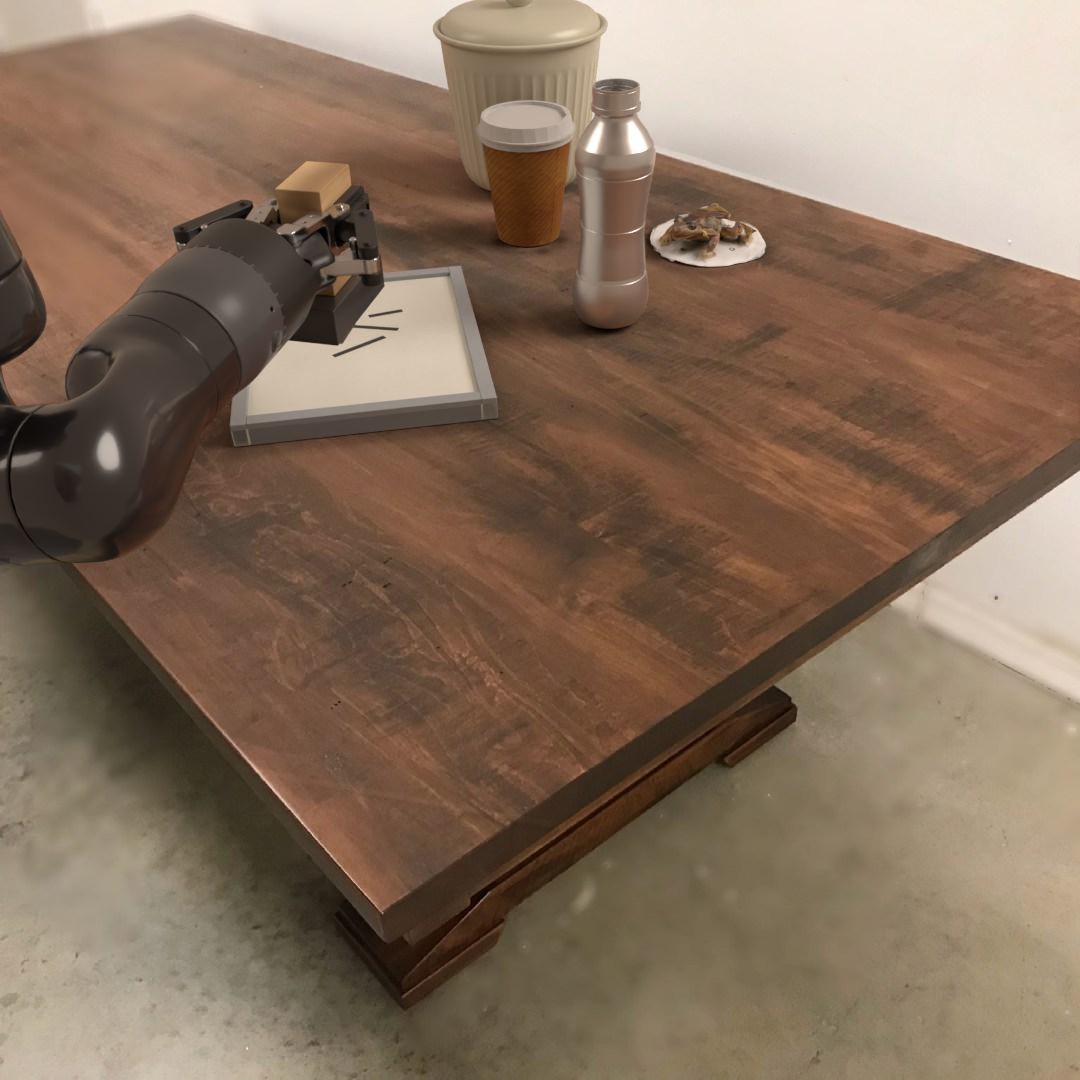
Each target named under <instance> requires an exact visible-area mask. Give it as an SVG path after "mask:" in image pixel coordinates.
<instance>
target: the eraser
mask: <svg viewBox="0 0 1080 1080" xmlns="http://www.w3.org/2000/svg"><path fill="white" fill-rule="evenodd" d="M350 170H351V169H350V165H349V163H341V162H340V163H338V162H324V161H312V160H311V161H309V160H306V161H305V162H304V163H302V164H301V165H300V166H299V167H298V168H297V169H296V170H295V171H293V172H292V173H291V174H290V175H289V176H288V177H286V178H285V179H284V180H283V181H282V182H281V183H279V184H278V186H276V187H275V188H274V190H275V191H274V192H275V198H277V203H278V209H279V215H280V221H281V225H284V224H286V223H289V224H292V223H294V222H295V221H297V220H298V219H300V218H301V217H303V216H304V215H306V214H307V213H309V212H310V211H312V210H314V211H320V212H324V211H325V210H326V209H328V208H329V207H331V206H332V205H334V204H333V203H334V202H335V201H336V200H337V199H338V198H339V197H340V196H341V195H342V194H343V193H344V192H345V191H346V190H347V189H348V188H349V187H350V186H351V185H352V178H351V171H350ZM342 253H344V252H342ZM342 253H341V254H342ZM341 254H340V255H341ZM379 259H380V268H381V276H382V283H381V284H379V285H376V286H365V285H363V284H362V279H361V277H354V275H349V276H338V277H337V279H336V281H335V283H334V284H333V285H332V286H330V287H329V288H326V289H324V290H322V291H320V292H318V293H317V294H316V296H315V298H314V301H313V303H312V306H311V309H310V311H309V313H308V316H307V318H306V319H305V321H304V323H303V324H302V325H301V326H300V328H299V329H298V330H297V331H296V332H295V333H294V335H293V336H292V337H291V338H290V339H289V340H288V341H297V342H307V343H316V344H326V345H335V346H338V345H339V344H340V343H341V342H342V340H343V339H344V338H345V336H346V335H347V334H348V333H349V331H350V330H351V329H352V327H353V326H354V325H355V324H356V322H357V321H358V320H359V318H360V317H361V316H362V315H363V313H364V312H365V311H366V310H367V308H368V307H369V306H370V304H371V303H372V302H373V301H374V299H375V298H376V297H377V295H378V294H379V293H380V292H381V290H382V289H383V288H384V277H383V273H384V268H383V259H382V254H381V253H379Z"/></svg>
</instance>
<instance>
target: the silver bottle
mask: <svg viewBox="0 0 1080 1080" xmlns="http://www.w3.org/2000/svg"><path fill="white" fill-rule="evenodd" d="M641 110H642V102H641V86H640V83H639V82H638V81H636V80H634V79H629V78H615V77H614V78H606V79H605V78H604V79H600V80H598V81H597V80H596V82H595V83H594V84H593V87H592V102H591V111H592V113H593V114H594V116H593V117H592V119H591V122H590V124H589V125H588V126H587V128H586V129H585V130H584V132H583V134H582V136H581V137H580V139H579V141H578V144H577V147H576V151H575V155H574V156H575V167H576V176H577V178H576V183H577V190H578V191H577V192H578V198H579V218H580V223H579V225H580V237H579V248H578V257H577V258H578V259H577V268H576V270H575V275H574V278H573V279H574V280H573V287H572V291H571V294H572V295H571V296H572V301H573V307H574V311H575V313H576V314H577V316H578V317H579V318H580V320H581V321H582V322H583V323H584V324H586V325H588V326H591V327H594V328H597V329H620V328H625V327H629V326H631V325H633V324H635V323H637V322H638V321H639V320H640V318H641V317H642V316H643V314H644V313H645V311H646V309H647V304H648V302H649V301H648V300H649V296H650V289H649V288H650V287H649V277H648V271H647V268H646V242H645V241H646V239H645V238H646V237H645V230H646V218H647V211H648V201H649V196H650V191H651V185H652V180H653V175H654V169H655V165H656V159H657V158H656V156H657V151H656V146H655V142H654V140H653V138H652V136H651V135H650V133H649V131H648V129H647V127H646V126H645V125H644V123H643V122H642V120H641V119H640V118H639V116H638V113H639V112H640V111H641Z"/></svg>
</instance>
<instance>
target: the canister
mask: <svg viewBox="0 0 1080 1080" xmlns="http://www.w3.org/2000/svg"><path fill="white" fill-rule="evenodd" d="M608 26H609V23H608V20H607V18H606V17H605V16H604V15H603V14H601V13H599V12H597V11H595V10H594V9H593V7H591V6H590V5H588V4H586V3H584V2H582V1H579V0H470V1H469V0H468V1H466V2H463V3H460V4H458V5H456V6H455V7H452V8H451V9H450V10H448V11H447V12H446V13H445V14H444V16H441V17H440V18H438V19H437V20H435V22H434V24H433V25H432V32H433V34H434V36H435V38H437V39H438V40H439V41H440V48H441V52H442V53H441V54H442V58H443V65H444V71H445V78H446V83H447V89H448V95H449V101H450V107H451V113H452V118H453V123H454V128H455V133H456V139H457V143H458V144H457V145H458V149H459V153H460V158H461V162H462V165H463V168H464V170H465V172H466V174H467V176H468V178H470V180H471V181H472V182H473V183H474V184H475V185H476V186H477V187H480V188H481V189H484V190H486V191H487V192H491V190H490V184H489V178H488V172H487V168H486V161H485V155H484V150H483V144H482V142H481V140H480V137H479V135H478V134H477V130H476V129H477V126H478V125H479V123H480V117H481V114H482V112H483V111H484V110H485V109H487V108H488V107H491V106H493V105H496V104H500V103H505V102H511V101H523V100H536V101H546V102H552V103H556V104H559V105H562V106H564V107H566V108H567V109H568V110H569V111H570V113H571V118H572V122H574V124H575V126H576V129H575V132H574V133H573V138H572V139H571V141H570V149H569V157H568V166H567V174H566V183H565V188H566V187H568V186H569V185H571V184H573V183H574V182H575V181H577V176H576V167H575V156H574V155H575V151H576V147H577V144H578V141H579V139H580V137H581V136H582V134H583V132H584V130H585V129H586V128H587V126H588V125H589V124H590V122H591V121H592V119H593V112H592V111H591V102H592V87H593V84H594V83H595V82H597V77H598V76H597V75H598V66H599V57H600V49H601V37H602V36H603V35H604V34H605V33H606V31H607V29H608Z"/></svg>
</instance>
